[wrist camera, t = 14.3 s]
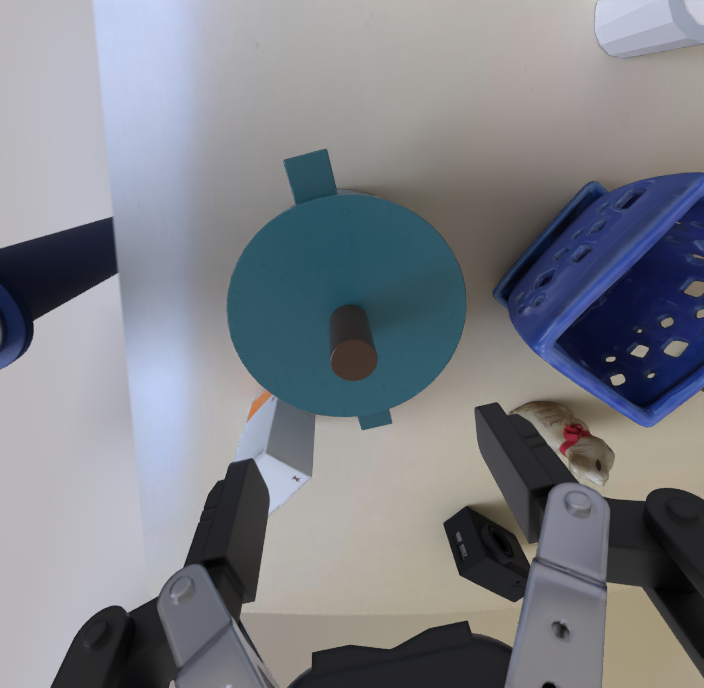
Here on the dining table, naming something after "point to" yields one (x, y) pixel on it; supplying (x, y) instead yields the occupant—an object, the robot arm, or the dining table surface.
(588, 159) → the dining table surface
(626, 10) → the shot glass
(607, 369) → the flower pot
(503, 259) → the dining table surface
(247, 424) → the cosmetic box
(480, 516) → the digital camera
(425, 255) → the lid
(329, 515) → the dining table surface
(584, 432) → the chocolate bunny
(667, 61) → the dining table surface
